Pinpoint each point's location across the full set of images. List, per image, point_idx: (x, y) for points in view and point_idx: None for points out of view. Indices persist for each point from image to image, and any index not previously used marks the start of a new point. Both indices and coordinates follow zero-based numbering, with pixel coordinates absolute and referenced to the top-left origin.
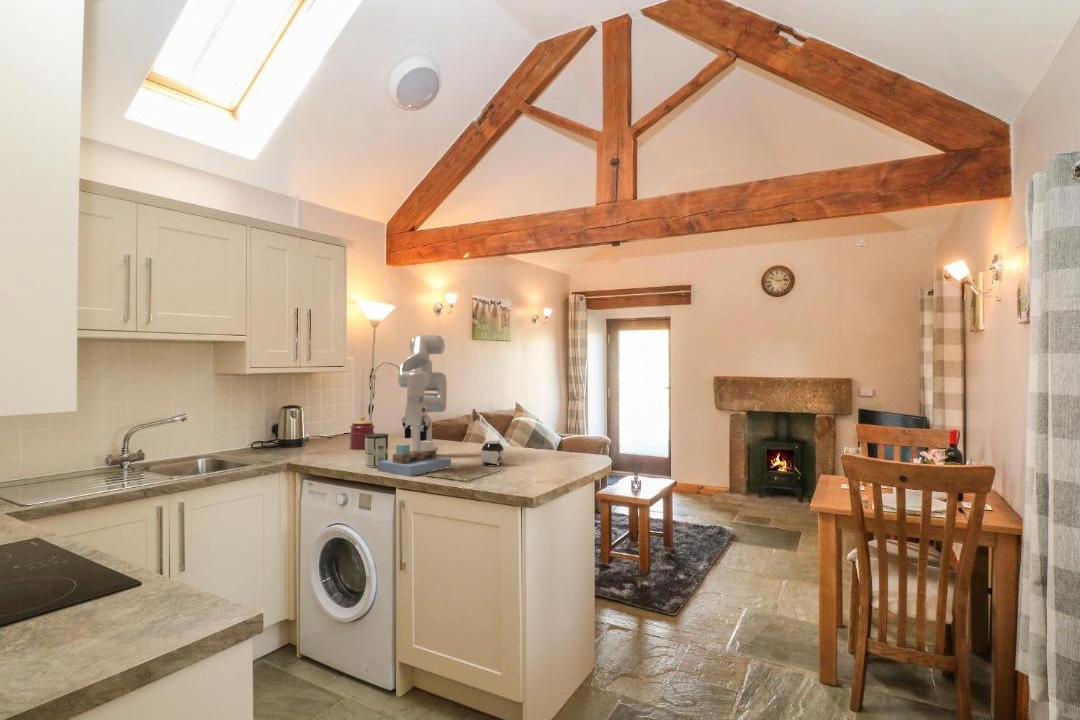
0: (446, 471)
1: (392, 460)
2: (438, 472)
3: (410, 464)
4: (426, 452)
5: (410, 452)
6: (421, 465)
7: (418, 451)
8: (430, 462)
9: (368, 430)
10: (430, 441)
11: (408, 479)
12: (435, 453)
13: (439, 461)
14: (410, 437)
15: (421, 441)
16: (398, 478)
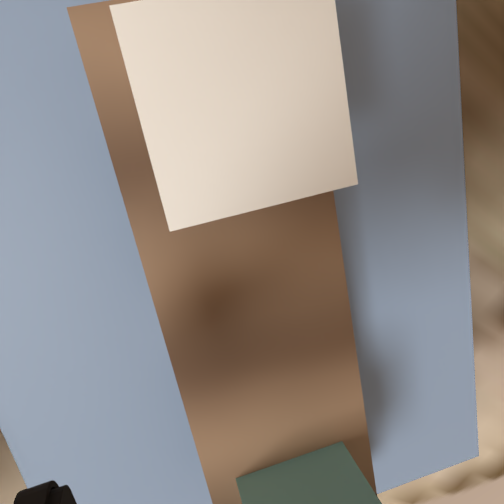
0: (482, 101)
1: (101, 485)
2: (467, 180)
3: (411, 424)
4: (331, 195)
5: (240, 391)
6: (466, 345)
7: (231, 269)
8: (456, 237)
9: None
10: (300, 36)
11: (496, 449)
12: None
13: (459, 118)
14: (69, 493)
15: (169, 206)
16: (432, 486)
